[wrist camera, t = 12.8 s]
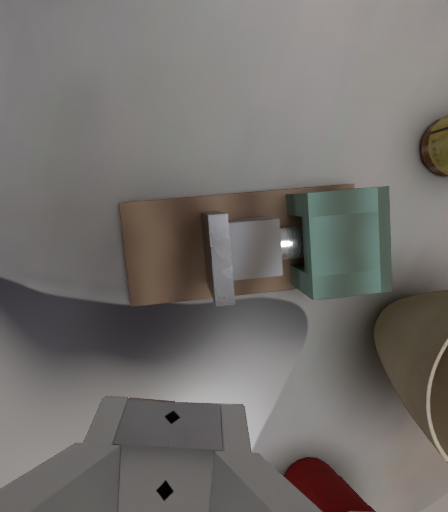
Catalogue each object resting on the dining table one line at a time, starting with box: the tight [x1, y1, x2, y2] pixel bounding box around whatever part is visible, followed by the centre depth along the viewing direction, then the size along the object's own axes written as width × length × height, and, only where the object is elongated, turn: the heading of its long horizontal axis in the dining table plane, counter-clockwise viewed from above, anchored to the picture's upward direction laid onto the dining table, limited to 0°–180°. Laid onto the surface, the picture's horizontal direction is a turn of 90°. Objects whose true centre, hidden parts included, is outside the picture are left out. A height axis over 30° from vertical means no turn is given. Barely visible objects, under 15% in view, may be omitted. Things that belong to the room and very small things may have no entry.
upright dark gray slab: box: [201, 211, 304, 307], centre depth 38 cm, size 14×7×9 cm, turn 95°
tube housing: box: [119, 184, 392, 307], centre depth 39 cm, size 23×10×8 cm, turn 95°
